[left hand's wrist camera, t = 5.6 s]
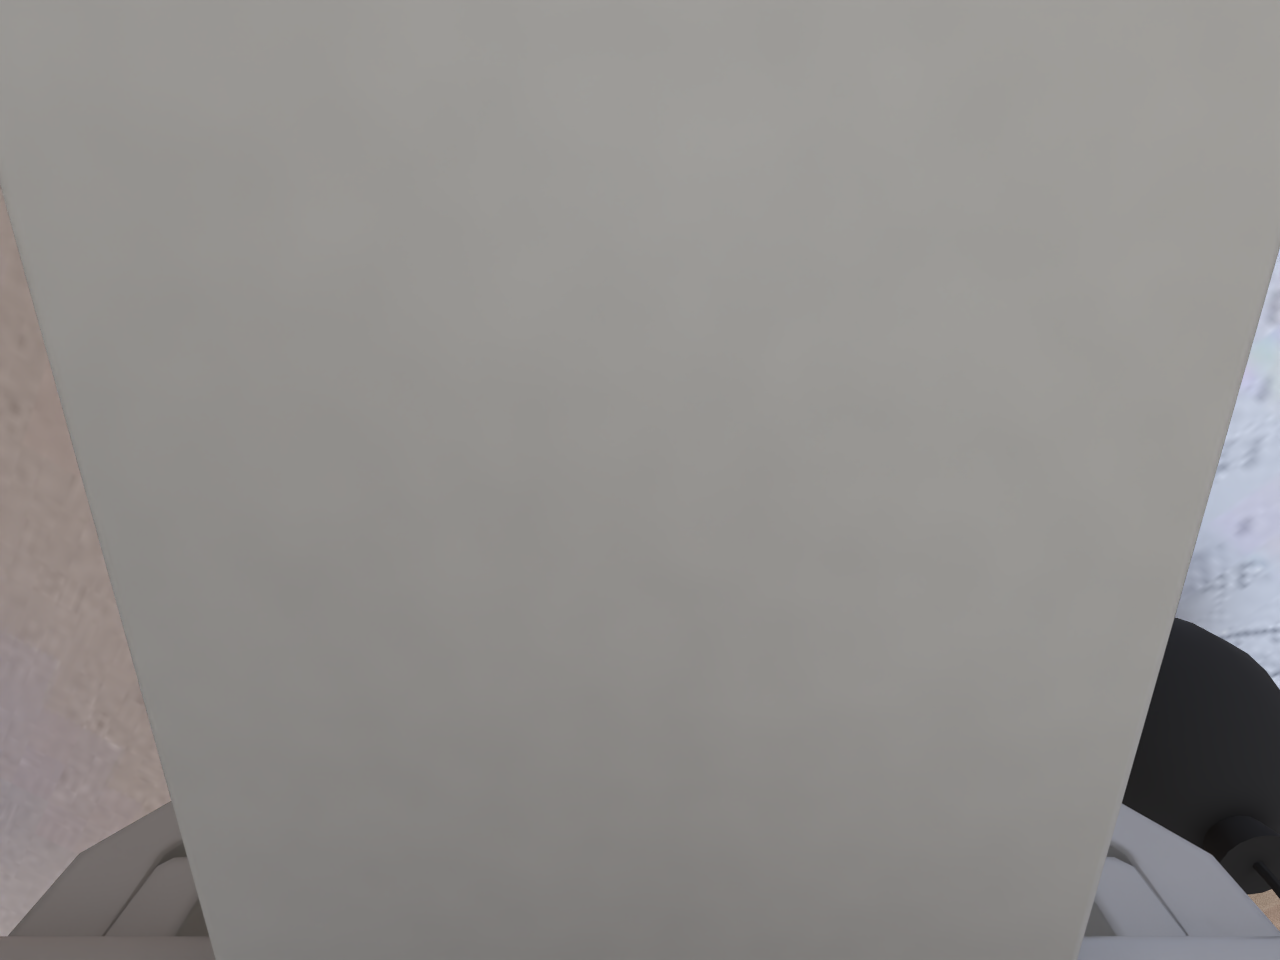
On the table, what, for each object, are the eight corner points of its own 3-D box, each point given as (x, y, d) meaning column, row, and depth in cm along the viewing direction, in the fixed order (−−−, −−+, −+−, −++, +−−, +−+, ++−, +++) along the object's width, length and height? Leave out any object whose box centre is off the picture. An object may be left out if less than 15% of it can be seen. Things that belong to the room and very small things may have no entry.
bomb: (1166, 536, 25) (1584, 803, 14) (1198, 715, 28) (1574, 1063, 17) (940, 612, 26) (1160, 916, 15) (991, 778, 29) (1212, 1144, 18)
